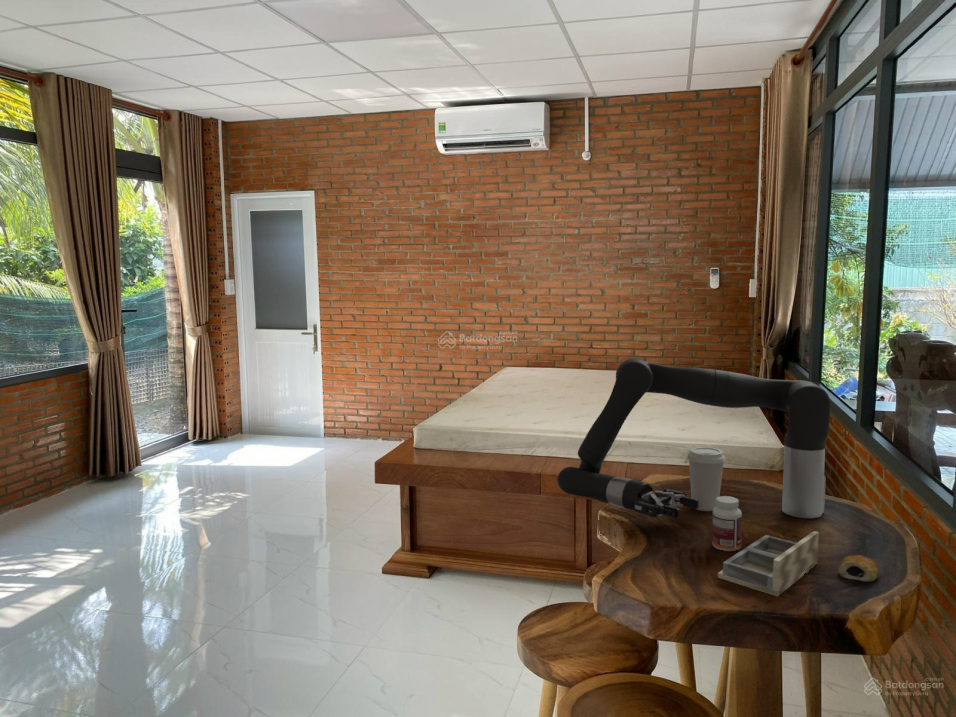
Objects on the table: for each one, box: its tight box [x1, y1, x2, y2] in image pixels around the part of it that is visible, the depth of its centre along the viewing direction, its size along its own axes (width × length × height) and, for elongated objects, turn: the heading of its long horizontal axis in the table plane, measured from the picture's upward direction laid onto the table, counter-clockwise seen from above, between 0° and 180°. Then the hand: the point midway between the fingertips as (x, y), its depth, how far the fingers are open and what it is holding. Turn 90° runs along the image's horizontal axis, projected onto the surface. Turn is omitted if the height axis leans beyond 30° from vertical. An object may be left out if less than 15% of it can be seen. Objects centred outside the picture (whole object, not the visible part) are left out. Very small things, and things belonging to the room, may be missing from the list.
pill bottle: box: [711, 495, 743, 552], centre depth 157 cm, size 6×6×11 cm
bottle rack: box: [717, 530, 820, 598], centre depth 145 cm, size 20×12×7 cm, turn 135°
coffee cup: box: [686, 446, 726, 512], centre depth 183 cm, size 10×10×15 cm
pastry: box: [837, 554, 879, 583], centre depth 143 cm, size 9×7×4 cm
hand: (688, 509), depth 164 cm, fingers open, 8 cm apart
